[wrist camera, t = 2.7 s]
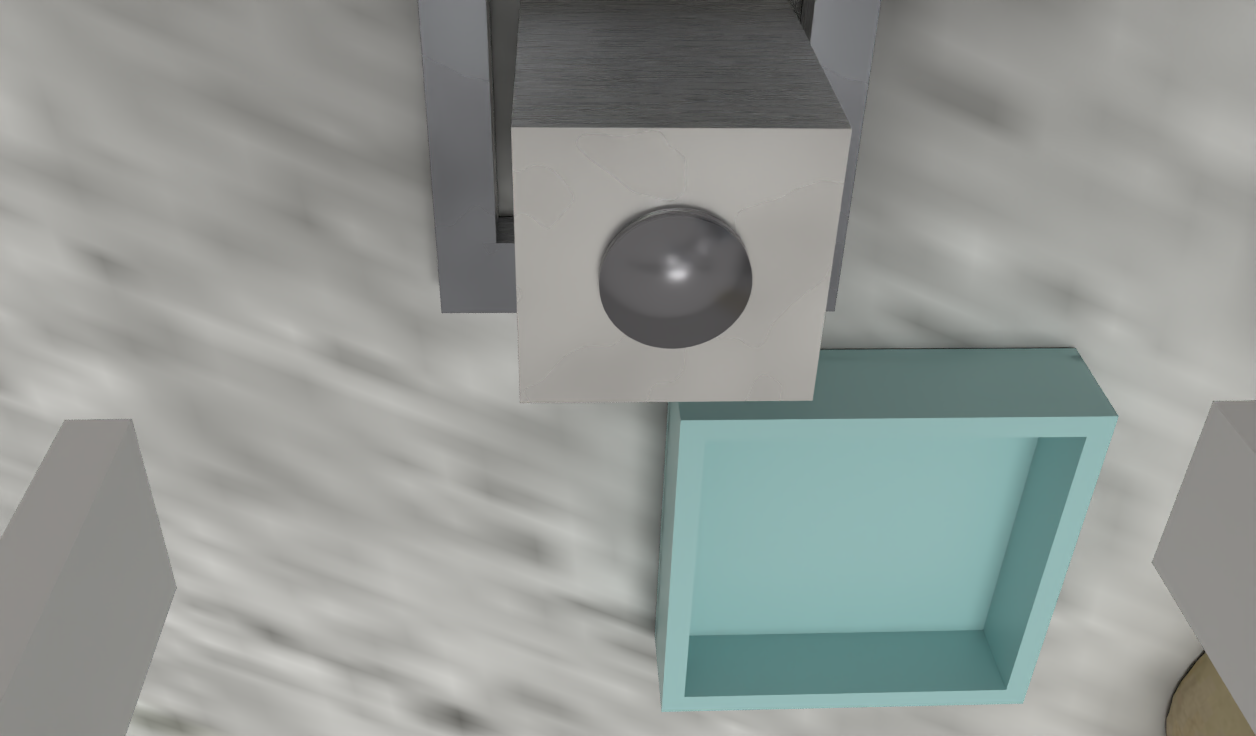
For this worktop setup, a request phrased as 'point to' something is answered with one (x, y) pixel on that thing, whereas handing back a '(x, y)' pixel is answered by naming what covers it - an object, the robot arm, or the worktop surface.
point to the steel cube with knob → (672, 201)
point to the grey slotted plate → (466, 149)
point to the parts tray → (875, 531)
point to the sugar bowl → (1205, 706)
